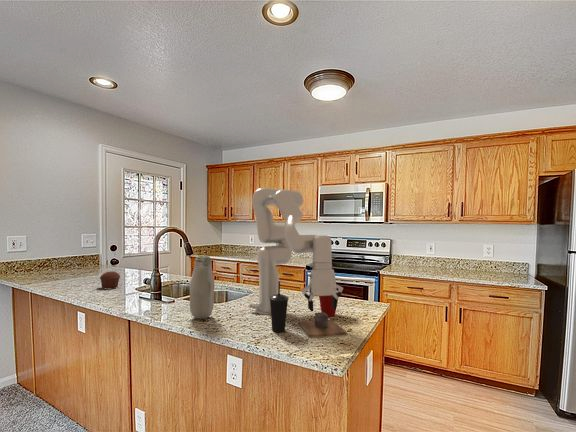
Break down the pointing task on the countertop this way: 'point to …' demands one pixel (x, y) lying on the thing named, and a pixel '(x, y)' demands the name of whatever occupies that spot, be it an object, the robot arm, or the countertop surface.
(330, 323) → the lid
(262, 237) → the robot arm
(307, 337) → the mat
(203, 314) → the gray bottle
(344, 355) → the countertop surface
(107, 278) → the muffin
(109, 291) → the countertop surface
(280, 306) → the drinking cup
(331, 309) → the plastic cup
